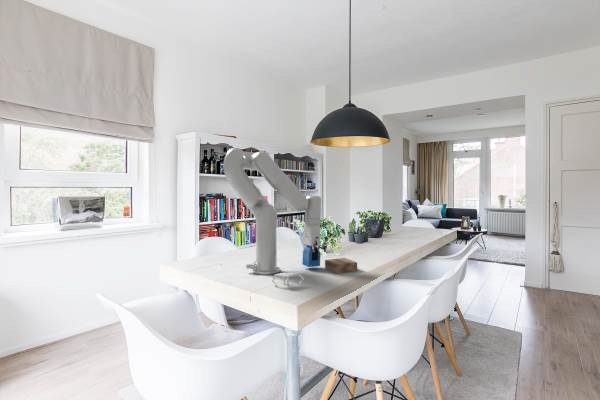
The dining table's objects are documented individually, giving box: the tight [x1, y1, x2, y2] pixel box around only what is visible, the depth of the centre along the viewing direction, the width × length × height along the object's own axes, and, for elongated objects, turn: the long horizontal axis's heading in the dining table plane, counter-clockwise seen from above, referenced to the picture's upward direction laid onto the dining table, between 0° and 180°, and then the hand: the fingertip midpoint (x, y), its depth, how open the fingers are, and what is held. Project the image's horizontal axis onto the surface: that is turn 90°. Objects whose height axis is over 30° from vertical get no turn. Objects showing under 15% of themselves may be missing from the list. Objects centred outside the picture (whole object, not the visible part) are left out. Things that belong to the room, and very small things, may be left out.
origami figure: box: [271, 272, 306, 290], centre depth 132 cm, size 12×8×5 cm
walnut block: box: [324, 257, 358, 274], centre depth 157 cm, size 11×11×4 cm
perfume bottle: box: [301, 244, 321, 268], centre depth 159 cm, size 6×6×12 cm
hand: (311, 258), depth 159 cm, fingers closed on perfume bottle, 6 cm apart
